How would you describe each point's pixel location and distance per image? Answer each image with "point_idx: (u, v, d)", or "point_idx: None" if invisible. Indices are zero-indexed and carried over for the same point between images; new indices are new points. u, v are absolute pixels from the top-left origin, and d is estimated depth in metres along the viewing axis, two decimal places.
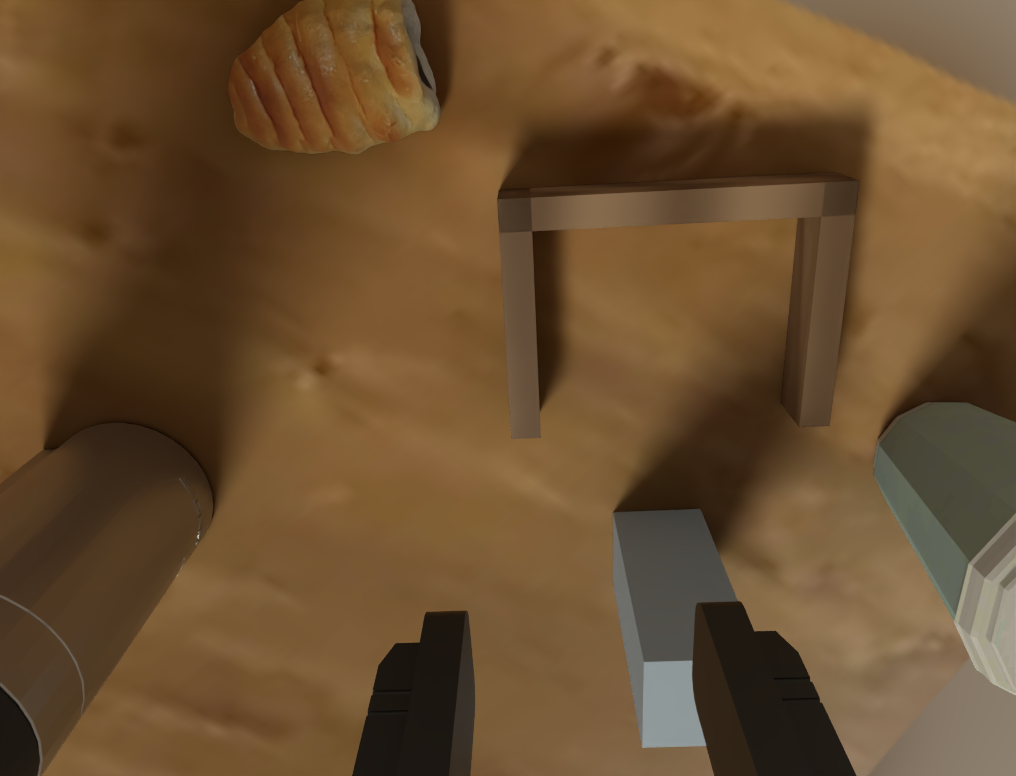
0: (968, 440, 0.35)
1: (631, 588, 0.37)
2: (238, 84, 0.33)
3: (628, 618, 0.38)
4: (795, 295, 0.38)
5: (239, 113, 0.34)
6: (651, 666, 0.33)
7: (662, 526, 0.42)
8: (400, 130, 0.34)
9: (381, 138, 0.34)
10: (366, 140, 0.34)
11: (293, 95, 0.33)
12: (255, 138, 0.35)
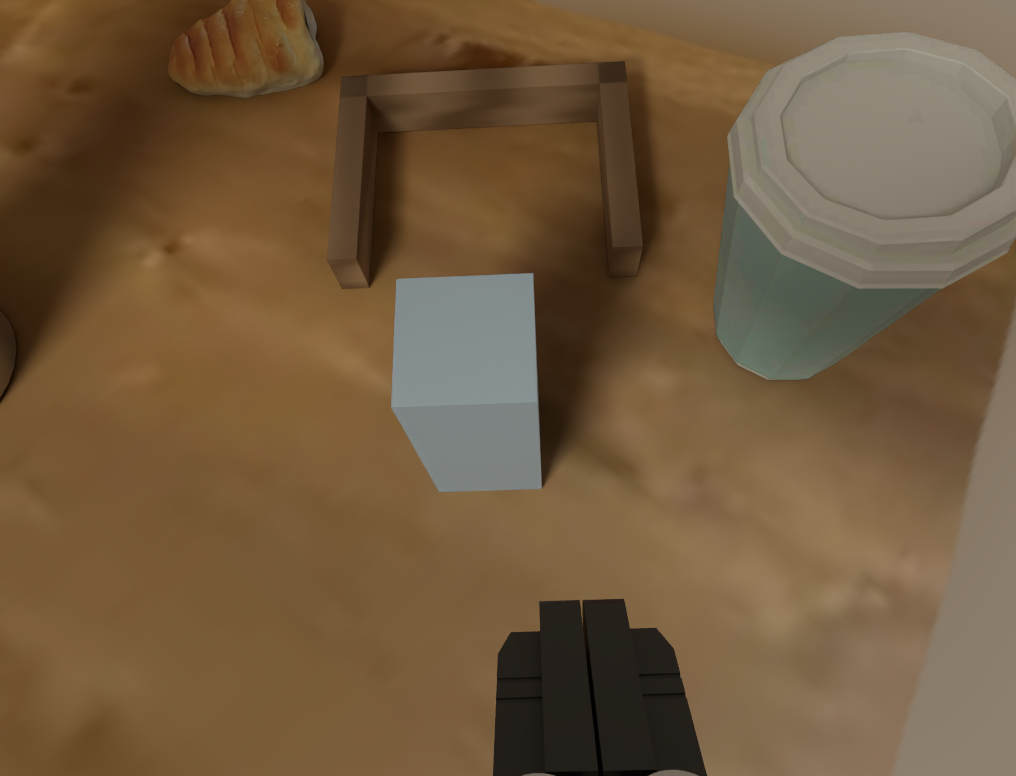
0: None
1: None
2: (177, 42, 0.46)
3: None
4: (602, 173, 0.43)
5: (173, 60, 0.46)
6: (405, 284, 0.28)
7: None
8: (286, 56, 0.45)
9: (271, 62, 0.45)
10: (260, 66, 0.45)
11: (212, 33, 0.45)
12: (179, 74, 0.46)
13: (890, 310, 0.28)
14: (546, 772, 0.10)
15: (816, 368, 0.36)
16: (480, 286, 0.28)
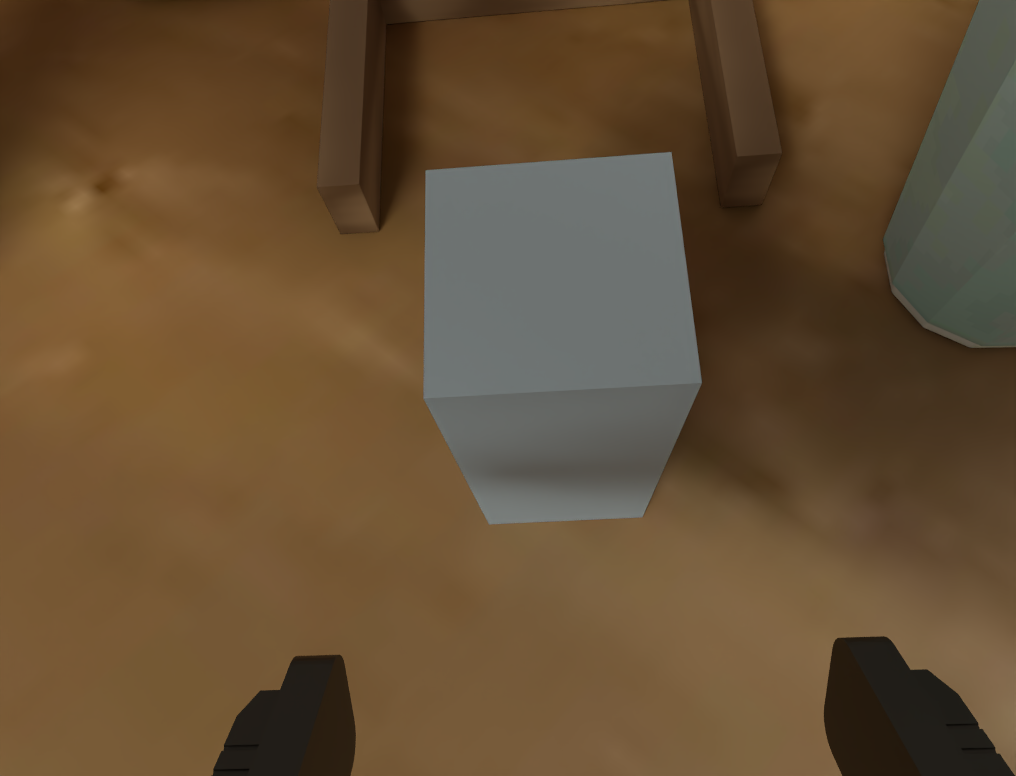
0: None
1: None
2: None
3: None
4: (703, 63, 0.30)
5: None
6: (441, 179, 0.16)
7: None
8: None
9: None
10: None
11: None
12: None
13: None
14: None
15: None
16: (577, 178, 0.15)
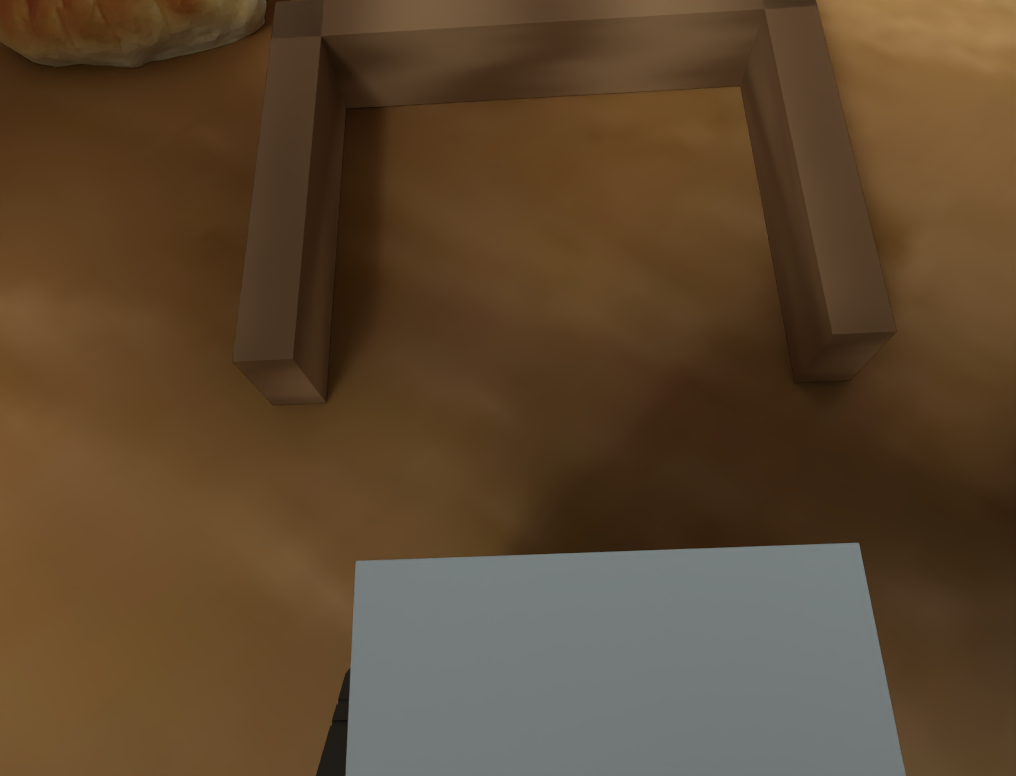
0: None
1: None
2: None
3: None
4: (767, 179, 0.23)
5: None
6: (387, 585, 0.08)
7: None
8: None
9: None
10: (149, 5, 0.25)
11: None
12: (1, 26, 0.25)
13: None
14: None
15: None
16: (668, 598, 0.07)
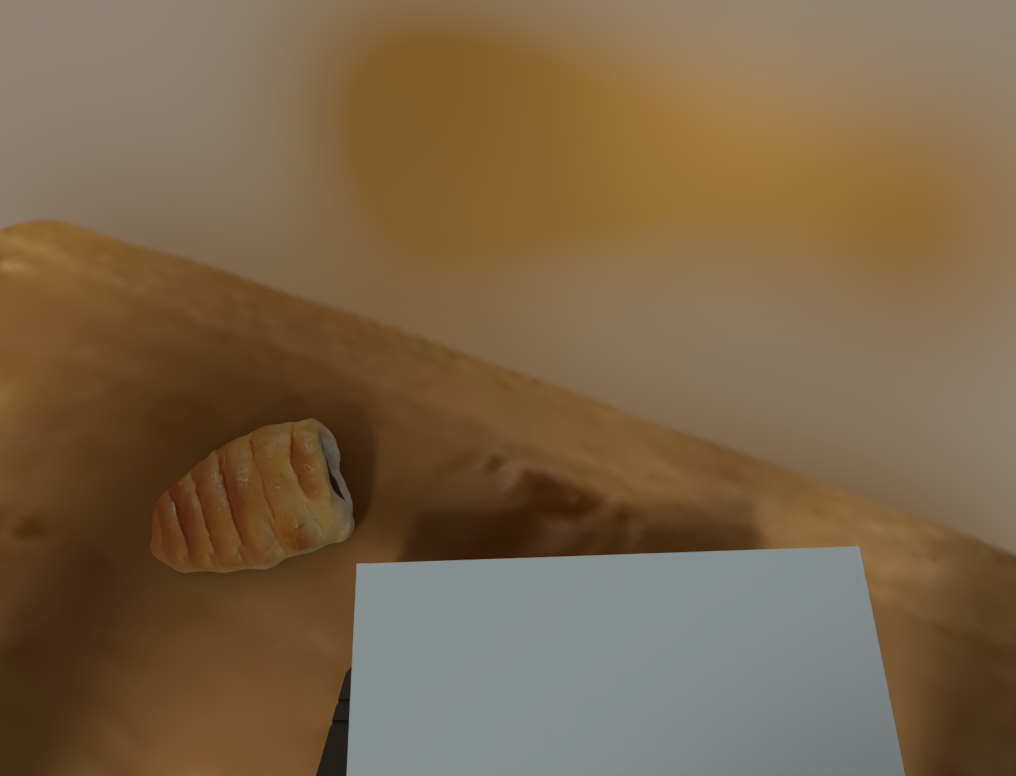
0: None
1: None
2: (161, 508, 0.35)
3: None
4: None
5: (157, 536, 0.35)
6: (388, 588, 0.08)
7: None
8: (309, 535, 0.34)
9: (290, 544, 0.34)
10: (275, 549, 0.34)
11: (208, 508, 0.34)
12: (167, 558, 0.35)
13: None
14: None
15: None
16: (668, 602, 0.07)
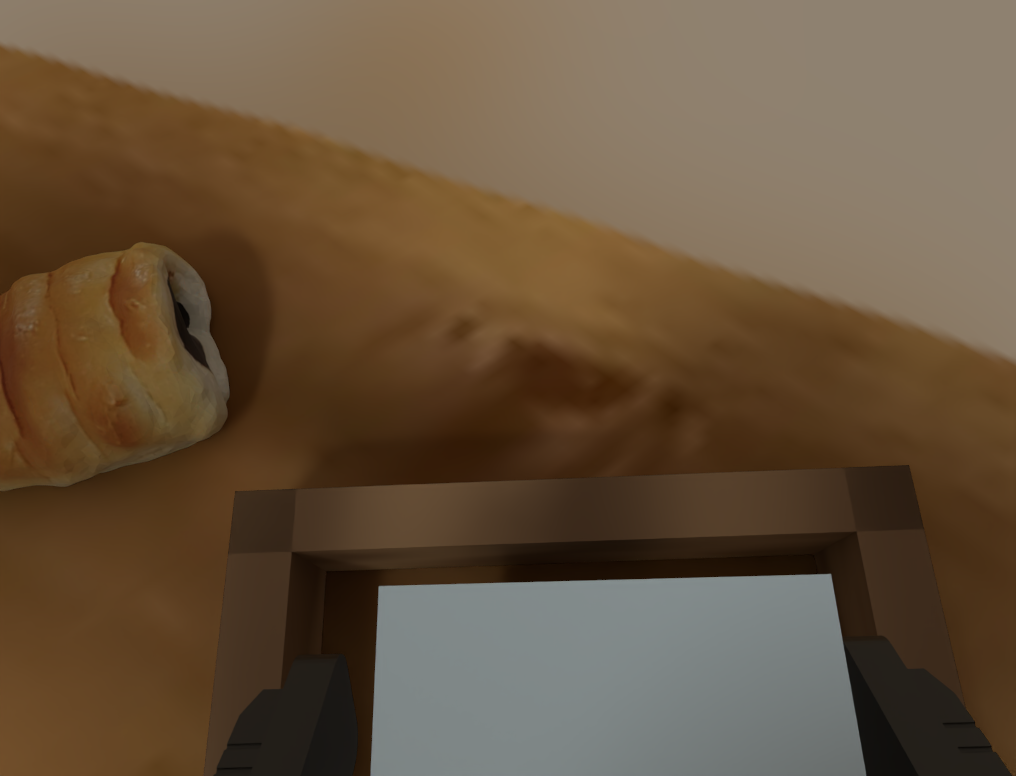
0: None
1: None
2: None
3: None
4: None
5: None
6: (407, 609, 0.08)
7: None
8: (138, 420, 0.20)
9: (104, 435, 0.20)
10: (82, 445, 0.20)
11: None
12: None
13: None
14: None
15: None
16: (658, 623, 0.08)
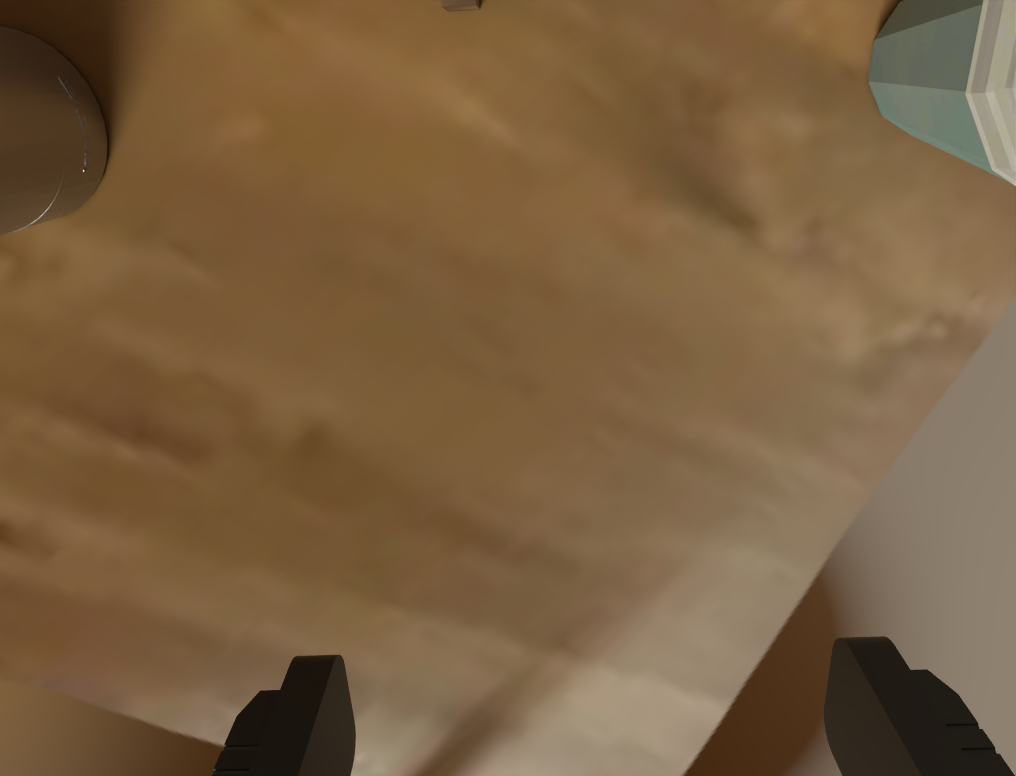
0: None
1: None
2: None
3: None
4: None
5: None
6: None
7: None
8: None
9: None
10: None
11: None
12: None
13: None
14: None
15: None
16: None
